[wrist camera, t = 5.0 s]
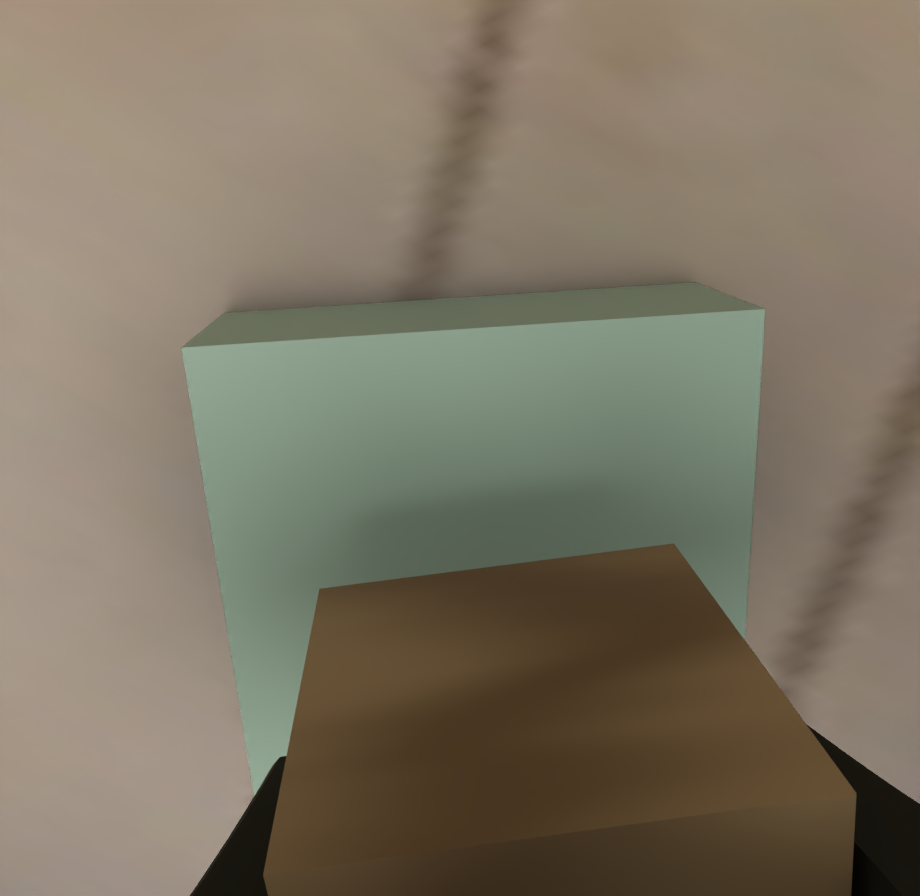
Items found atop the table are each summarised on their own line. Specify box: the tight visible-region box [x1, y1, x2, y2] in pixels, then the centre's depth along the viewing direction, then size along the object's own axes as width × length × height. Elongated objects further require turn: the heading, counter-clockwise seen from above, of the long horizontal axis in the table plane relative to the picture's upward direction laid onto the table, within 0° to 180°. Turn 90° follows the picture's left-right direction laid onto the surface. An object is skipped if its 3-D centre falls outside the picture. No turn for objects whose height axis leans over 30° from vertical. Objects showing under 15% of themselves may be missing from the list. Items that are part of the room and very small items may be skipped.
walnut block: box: [263, 543, 857, 896], centre depth 10 cm, size 5×5×5 cm
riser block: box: [181, 282, 765, 796], centre depth 18 cm, size 10×10×4 cm
